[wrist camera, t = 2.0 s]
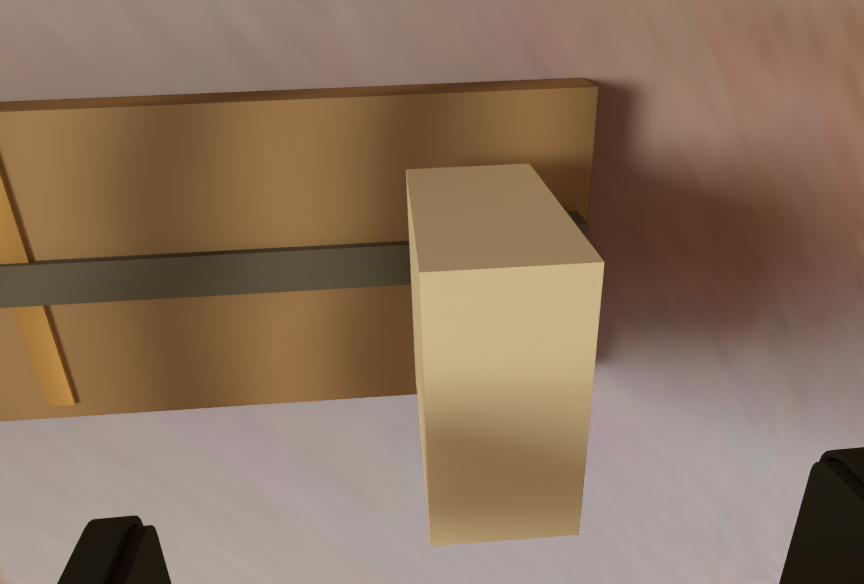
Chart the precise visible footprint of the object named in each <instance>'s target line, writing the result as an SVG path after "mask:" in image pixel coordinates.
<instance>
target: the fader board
mask: <svg viewBox="0 0 864 584" xmlns="http://www.w3.org/2000/svg"><path fill="white" fill-rule="evenodd" d="M597 98H598V86H596V85H594V84H592V83H591V82H589V81H587V80H585V79H583V78H567V79H543V80H519V81H495V82H471V83H447V84H423V85H399V86H374V87H350V88H326V89H302V90H278V91H254V92H230V93H206V94H182V95H158V96H134V97H109V98H85V99H61V100H37V101H13V102H0V421H13V420H29V419H44V418H59V417H74V416H90V415H105V414H120V413H135V412H151V411H166V410H181V409H196V408H212V407H227V406H242V405H258V404H273V403H288V402H303V401H319V400H334V399H349V398H364V397H380V396H395V395H410V394H417V387H416V374H415V353H414V331H413V310H412V289H411V268H410V247H409V226H408V205H407V184H406V169H424V168H445V167H466V166H487V165H508V164H528V163H529V164H530V165H531V166H532V168H533V169H534V170H535V172H536V173H537V174H538V176H539V177H540V178H541V179H542V181H543V182H544V183H545V185H546V186H547V187H548V189H549V190H550V191H551V193H552V194H553V195H554V197H555V198H556V199H557V200H558V202H559V203H560V204H561V206H562V207H563V208H564V210H565V211H566V212H567V214H568V215H569V216H570V218H571V219H572V220H573V221H574V223H575V224H576V225H577V227H578V228H579V229H580V231H581V232H582V233H583V235H584V236H585V237H586V239H587V231H588V211H589V199H590V186H591V173H592V161H593V148H594V136H595V123H596V110H597Z"/></svg>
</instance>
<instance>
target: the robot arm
mask: <svg viewBox="0 0 864 584" xmlns="http://www.w3.org/2000/svg"><path fill="white" fill-rule="evenodd" d="M57 584H171V581H170V577H169V574H168V570H167V567H166V563H165V560H164V556H163V553H162V549H161V546H160V542H159V538H158V535H157V532H156V529H155V527H154V526H153V525H148V526H143V523H142V521H141V519H140V518H139V517H138V516H125V517H114V518H103V519H93V520H91V521H90V522H89V523H88V524H87V526H86V527H85V529H84V531H83V533H82V535H81V537H80V539H79V541H78V543H77V545H76V547H75V549H74V551H73V553H72V555H71V557H70V559H69V561H68V563H67V565H66V567H65V569H64V571H63V573H62V575H61V577H60V579H59V581H58V583H57ZM779 584H864V447H861V448H850V449H839V450H830V451H826V452H825V453H824V454H823V455H822V456H821V458H820V461H819V462H816V463H815V464H814V465H813V466H812V468H811V471H810V475H809V478H808V482H807V486H806V489H805V493H804V496H803V500H802V504H801V507H800V511H799V514H798V518H797V522H796V525H795V529H794V532H793V536H792V540H791V543H790V547H789V550H788V554H787V558H786V561H785V565H784V568H783V572H782V576H781V579H780V583H779Z"/></svg>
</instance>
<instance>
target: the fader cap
mask: <svg viewBox="0 0 864 584" xmlns="http://www.w3.org/2000/svg"><path fill="white" fill-rule="evenodd" d="M406 184H407V205H408V226H409V247H410V268H411V289H412V310H413V331H414V353H415V374H416V387H417V398H418V410H419V421H420V432H421V443H422V455H423V466H424V477H425V488H426V499H427V511H428V522H429V533H430V544H431V546H438V545H451V544H464V543H477V542H490V541H503V540H516V539H529V538H541V537H554V536H567V535H579V528H580V518H581V507H582V496H583V486H584V475H585V464H586V454H587V443H588V433H589V422H590V411H591V401H592V390H593V379H594V369H595V358H596V347H597V337H598V326H599V316H600V305H601V294H602V284H603V273H604V261H603V260H602V258H601V257H600V256H599V254H598V253H597V252H596V250H595V249H594V248H593V246H592V245H591V244H590V242H589V241H588V240H587V239H586V237H585V236H584V235H583V233H582V232H581V231H580V229H579V228H578V227H577V225H576V224H575V223H574V221H573V220H572V219H571V218H570V216H569V215H568V214H567V212H566V211H565V210H564V208H563V207H562V206H561V204H560V203H559V202H558V200H557V199H556V198H555V197H554V195H553V194H552V193H551V191H550V190H549V189H548V187H547V186H546V185H545V183H544V182H543V181H542V179H541V178H540V177H539V176H538V174H537V173H536V172H535V170H534V169H533V168H532V166H531V165H530V164H529V163H528V164H508V165H487V166H466V167H445V168H424V169H406Z"/></svg>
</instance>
